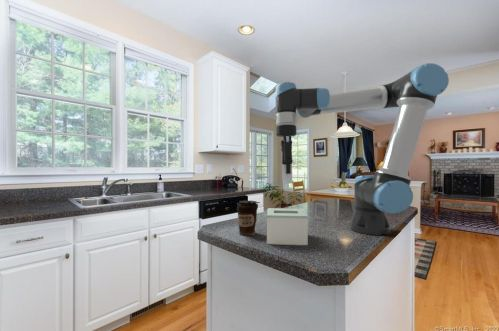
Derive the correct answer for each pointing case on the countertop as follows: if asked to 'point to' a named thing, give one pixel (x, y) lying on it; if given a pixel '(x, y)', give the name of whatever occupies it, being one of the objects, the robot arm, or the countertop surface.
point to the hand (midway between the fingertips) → (287, 182)
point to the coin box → (287, 226)
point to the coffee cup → (247, 217)
